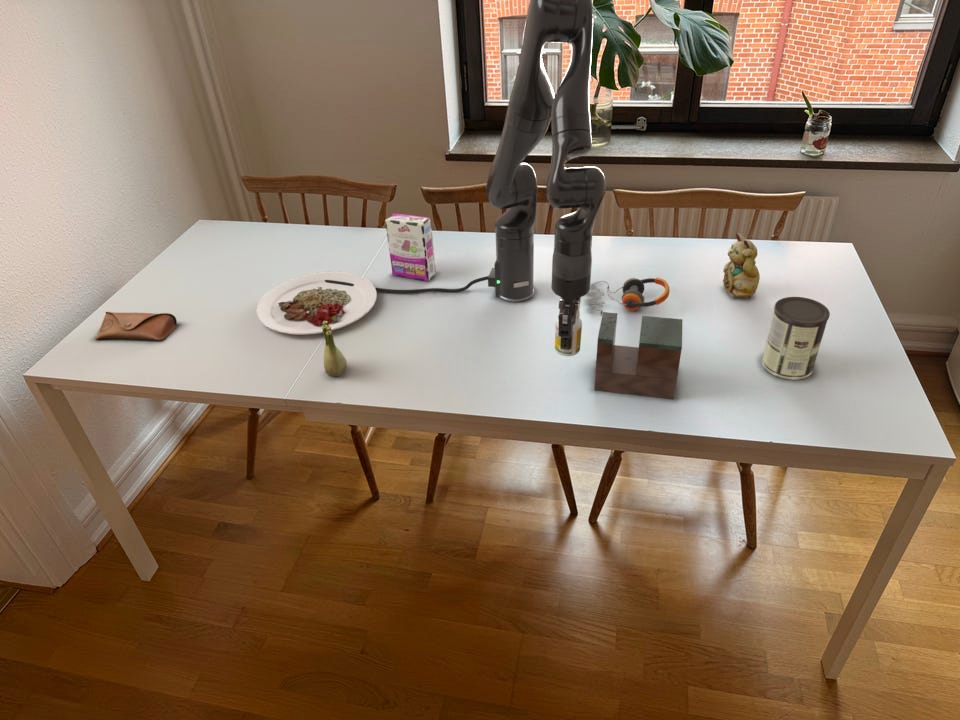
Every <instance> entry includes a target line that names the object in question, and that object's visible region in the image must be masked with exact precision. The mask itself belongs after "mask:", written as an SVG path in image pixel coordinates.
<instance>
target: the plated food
mask: <svg viewBox="0 0 960 720" xmlns="http://www.w3.org/2000/svg"><path fill="white" fill-rule="evenodd" d="M325 280H333V281H341V282H347V283H352V284H354V286H347V285H341V284H333V283H327V282H325ZM375 288H376V286H374V284H373V283H372V282H371V281H370V280H368V279H367V278H365V277H363V276H361V275H358V274H354V273H351V272H345V271H319V272H313V273H306V274H303V275H299V276H296V277H293V278H290V279H287V280H284V281H283V282H281V283H279V284H277V285H275V286H273V287H272V288H271V289H269V290H268V291H267V292H266V293H265V294H264V295H263V296H262V297H261V299H260V300H259V301H258V303H257V306H256V315H257V319H258V321H259V322H261V324H262V325H263V326H265V327H267V328H268V329H270V330H272V331H274V332H278V333H281V334H288V335H299V336H300V335H302V336H303V335H317V334H322V333H323V330H322V327H323V324H322V323H323V321H328V325H329V326H330V327H331V332H333V331H335V330H338V329H342V328H344V327H347V326H349V325H352V324H353V323H355V322H357V321H358V320H361V319H362V318H363V317H364V316H366V315H367V314H368V313H369V312H371V310H372V309H373V307H374V306H375V304H376V302H377V297H378V296H377V295H378V293H377V292H378V291H376V289H375ZM323 334H324V333H323Z"/></svg>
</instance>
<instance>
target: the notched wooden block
mask: <svg viewBox="0 0 960 720" xmlns="http://www.w3.org/2000/svg"><path fill="white" fill-rule="evenodd" d="M602 313H603V314H602V316H601V319H600V325H599V329H598V335H597V342H596V358H595V370H594V371H595V374H594V388H593V389H594V391H599V392H606V393H607V392H608V393H616V394H625V395H631V396H632V395H633V396H640V397H641V396H642V397H649V398H657V399H658V398H659V399H666V400H667V399H668V400H674V399H675V393H676V388H677V382H678V381H677V380H678V374H679V369H680V362H681V356H682V350H683V318H673V317H663V316H651V315H642V316H641V324H640V332H639V341H638V346H627V345H618V344H616V334H617V324H618V312H609V311H608V312H607V311H603V312H602Z"/></svg>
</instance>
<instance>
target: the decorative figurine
mask: <svg viewBox="0 0 960 720" xmlns="http://www.w3.org/2000/svg"><path fill="white" fill-rule="evenodd" d="M735 236H736V241H734V242H733V243H731V246H730V247H729V249H728V251H727V256H728V257H729V261H727V262H726V263H725V265H724V267H723V269H722V270H723V273H724V274H723V278H722V285H723V288H724V290H725V292H726V293H727V294H728V295H729V296H730V298H731V299H739V298H740V299H749V298H751V297H752V296H753V295H755V293H756V291H757V290H758V287H759V284H760V279H761V278H760V277H761V276H760V272H759V269H758V266H757V265H756V263H757V262H756V258H757V257H758V248H757V246H756V245H755V244H754V242H752V241H751V240H749V239H747V238H746V237H745V236H744V235H743V234H741V233H739V232H736V233H735Z"/></svg>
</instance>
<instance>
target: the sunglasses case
mask: <svg viewBox="0 0 960 720" xmlns="http://www.w3.org/2000/svg"><path fill="white" fill-rule="evenodd" d="M177 324H178V322H177V317H176V316H175V315H174V314H172V313H169V312H164V313H163V312H162V313H155V312H154V313H151V312H113V311H105V315H104V317H103V320H102V322H101V325H100V328H99V330H98V333H97V336H95V337H94V340H127V341H128V340H130V341H131V340H132V341H162V340H164V339H166V337H168V336H169V335H170V334H171V333H172V332H173V331H174V330H175V329H176V327H177Z"/></svg>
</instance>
